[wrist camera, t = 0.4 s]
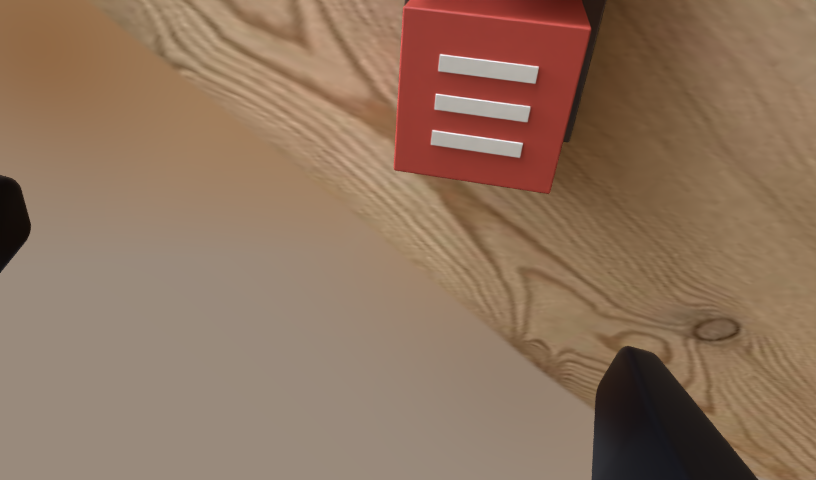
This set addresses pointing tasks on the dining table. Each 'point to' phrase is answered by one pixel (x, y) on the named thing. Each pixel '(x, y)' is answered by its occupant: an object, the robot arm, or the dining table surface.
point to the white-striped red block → (488, 88)
